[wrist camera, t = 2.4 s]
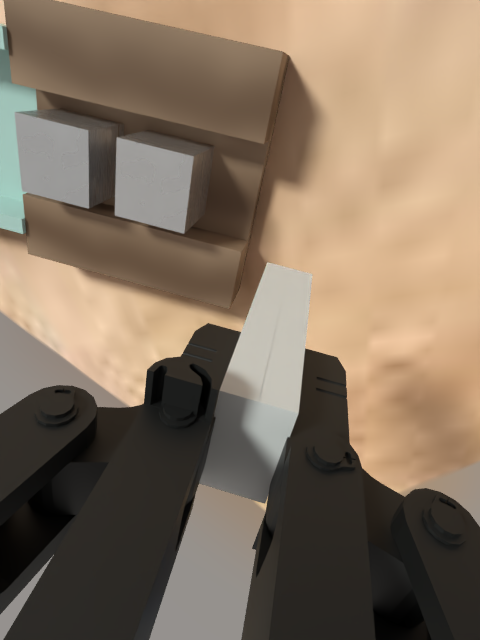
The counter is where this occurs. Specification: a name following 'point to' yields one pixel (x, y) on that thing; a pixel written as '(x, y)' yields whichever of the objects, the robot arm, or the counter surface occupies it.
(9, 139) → the tray
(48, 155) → the grey cube-shaped block
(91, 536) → the robot arm
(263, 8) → the counter surface
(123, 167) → the grey wood-grain cube
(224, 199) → the slot board
